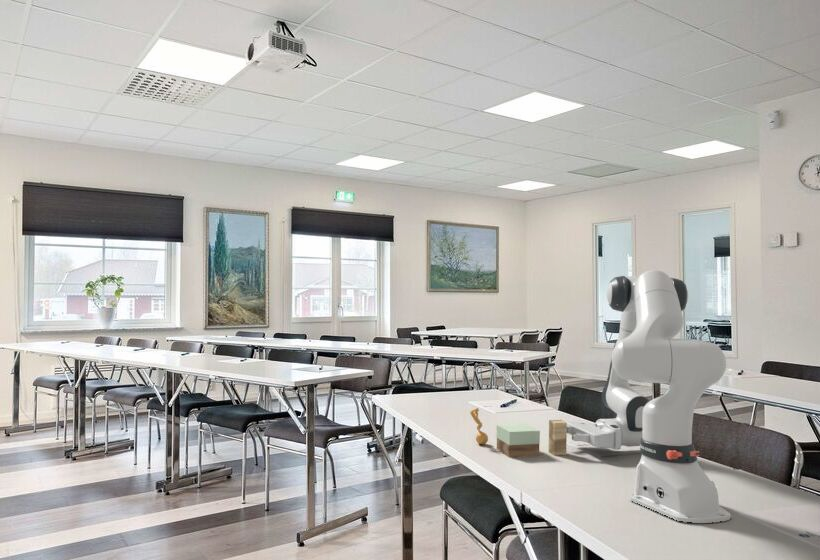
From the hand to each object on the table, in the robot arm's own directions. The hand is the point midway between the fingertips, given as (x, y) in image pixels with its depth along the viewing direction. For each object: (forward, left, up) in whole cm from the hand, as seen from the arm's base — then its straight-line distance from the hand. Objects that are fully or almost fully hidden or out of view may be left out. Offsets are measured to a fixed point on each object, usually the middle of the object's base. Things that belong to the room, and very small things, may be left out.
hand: (565, 434), depth 186 cm
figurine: (+14, +24, -6) cm, 28 cm away
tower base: (+3, +15, -6) cm, 16 cm away
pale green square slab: (+3, +15, -2) cm, 15 cm away
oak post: (0, +3, -6) cm, 7 cm away
